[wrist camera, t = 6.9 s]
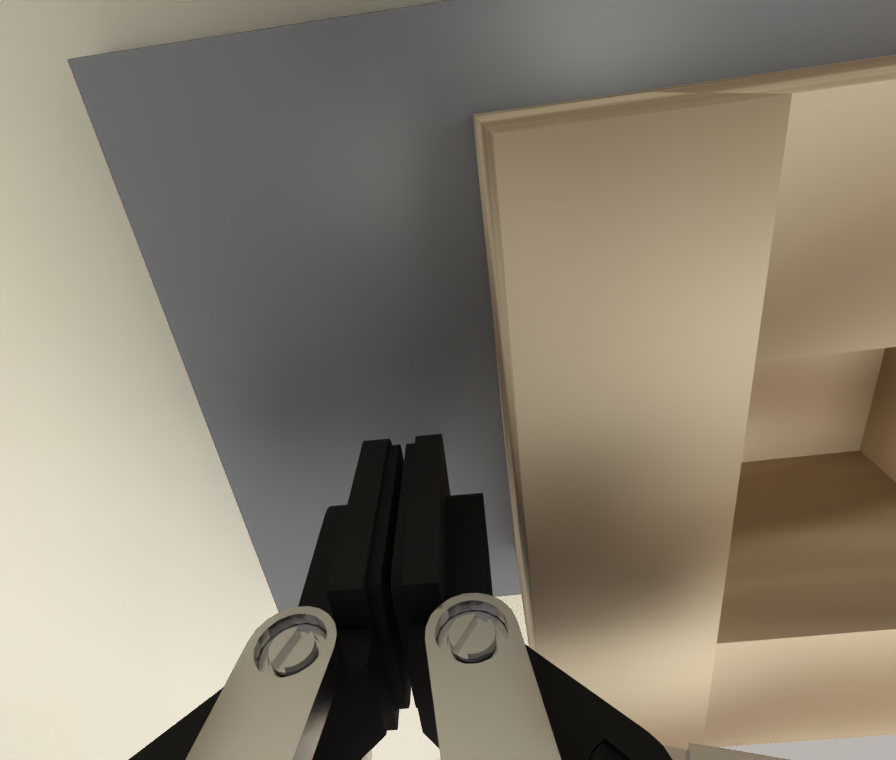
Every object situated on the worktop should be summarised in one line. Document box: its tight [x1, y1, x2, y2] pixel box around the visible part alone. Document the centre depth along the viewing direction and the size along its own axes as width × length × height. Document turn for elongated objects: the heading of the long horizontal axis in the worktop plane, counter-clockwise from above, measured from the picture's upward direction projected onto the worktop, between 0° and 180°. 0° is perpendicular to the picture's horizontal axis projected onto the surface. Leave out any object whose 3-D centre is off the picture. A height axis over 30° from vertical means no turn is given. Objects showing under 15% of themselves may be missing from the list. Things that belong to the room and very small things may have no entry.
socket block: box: [473, 55, 896, 749], centre depth 11 cm, size 12×12×6 cm
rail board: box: [67, 0, 896, 612], centre depth 11 cm, size 16×22×9 cm
